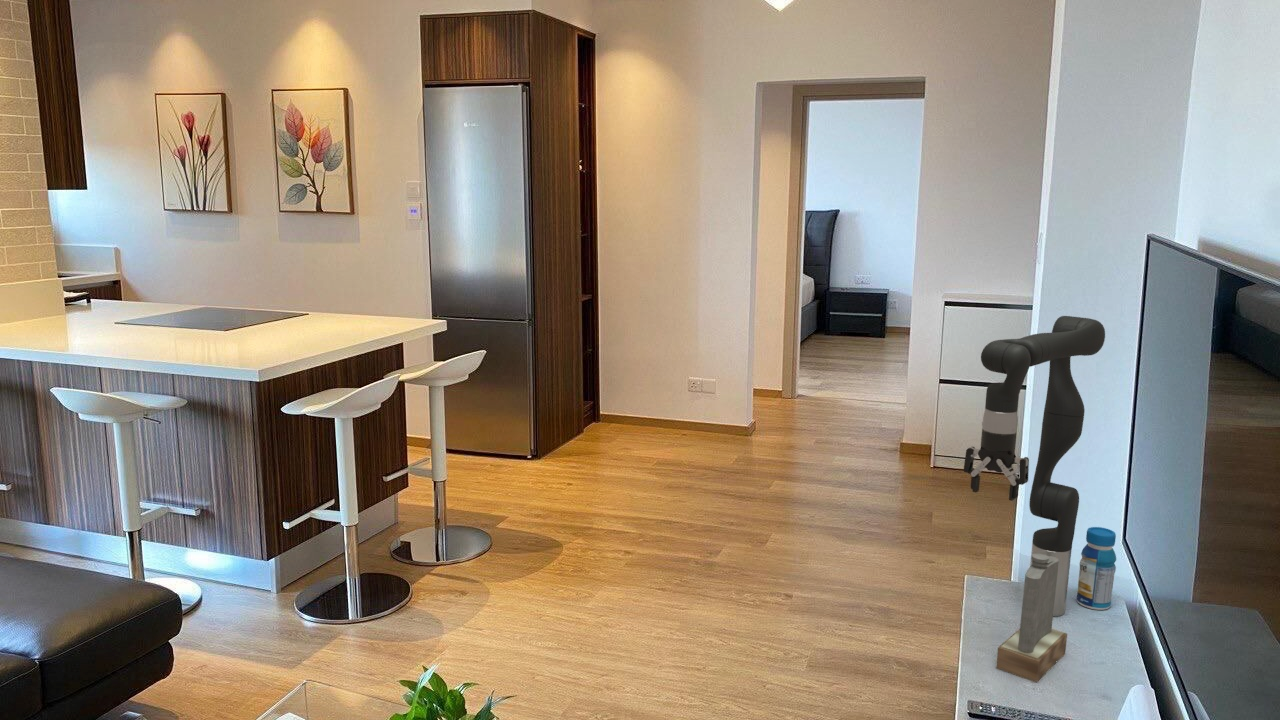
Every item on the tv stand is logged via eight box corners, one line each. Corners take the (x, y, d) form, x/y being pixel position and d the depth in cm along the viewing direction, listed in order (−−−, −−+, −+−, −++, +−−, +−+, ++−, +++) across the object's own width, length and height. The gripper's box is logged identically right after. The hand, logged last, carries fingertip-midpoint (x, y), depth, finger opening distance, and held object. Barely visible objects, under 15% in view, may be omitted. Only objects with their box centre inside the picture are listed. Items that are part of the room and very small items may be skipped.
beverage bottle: (1109, 614, 244) (1117, 539, 240) (1073, 605, 248) (1081, 532, 244) (1113, 602, 251) (1121, 529, 247) (1078, 594, 255) (1086, 522, 251)
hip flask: (1030, 654, 211) (1039, 569, 207) (1011, 648, 213) (1020, 564, 209) (1053, 629, 223) (1061, 548, 219) (1035, 624, 225) (1043, 543, 222)
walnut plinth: (1026, 640, 228) (1028, 620, 227) (1065, 653, 222) (1067, 632, 222) (996, 668, 215) (998, 646, 214) (1036, 682, 209) (1039, 660, 208)
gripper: (1036, 431, 219) (1030, 498, 222) (975, 420, 228) (970, 485, 231) (1024, 437, 213) (1018, 506, 216) (962, 425, 222) (957, 492, 225)
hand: (993, 495), depth 223 cm, fingers open, 8 cm apart
